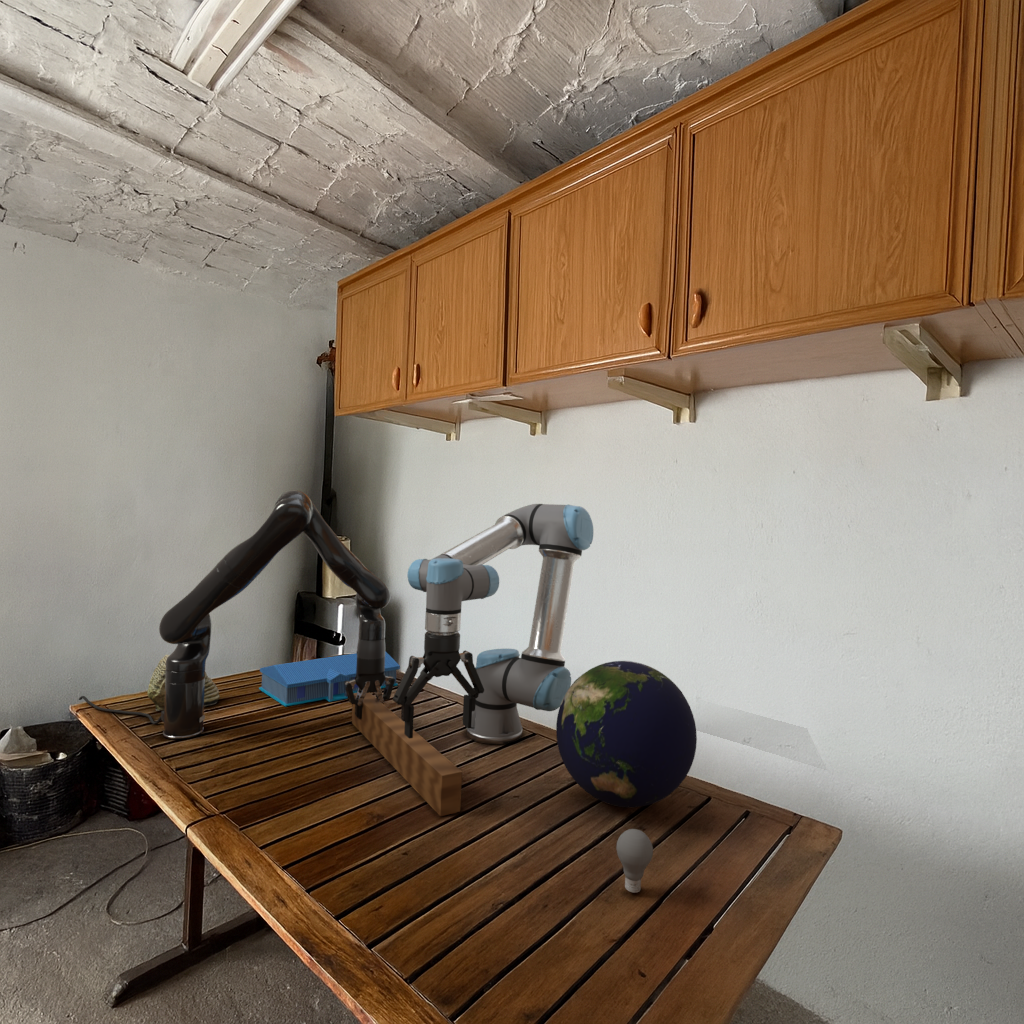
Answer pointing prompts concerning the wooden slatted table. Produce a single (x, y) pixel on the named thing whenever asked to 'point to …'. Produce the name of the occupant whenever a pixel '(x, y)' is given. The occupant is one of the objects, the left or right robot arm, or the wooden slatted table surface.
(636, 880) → the light bulb
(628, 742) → the globe
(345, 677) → the model building
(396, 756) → the post
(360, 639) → the left robot arm
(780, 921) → the wooden slatted table surface
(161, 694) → the fossil
